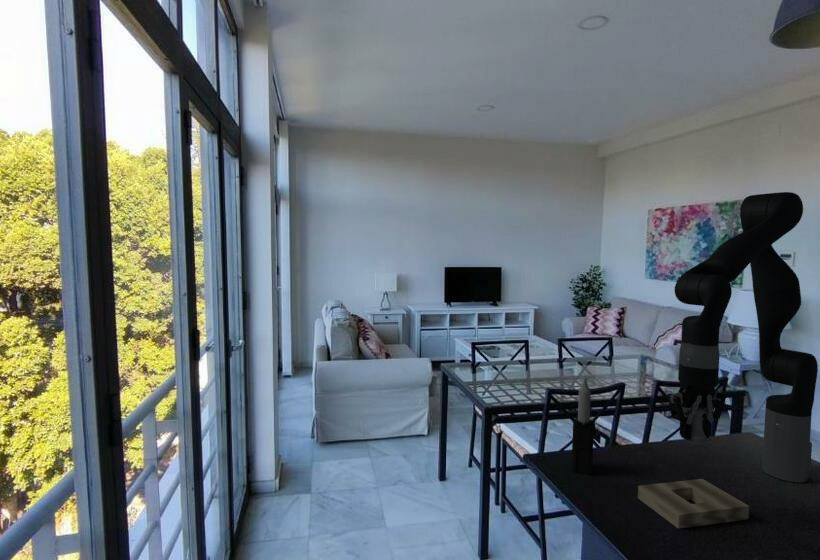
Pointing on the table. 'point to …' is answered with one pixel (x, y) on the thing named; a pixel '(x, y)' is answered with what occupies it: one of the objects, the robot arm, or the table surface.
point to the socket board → (682, 514)
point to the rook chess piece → (697, 429)
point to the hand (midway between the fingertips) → (694, 437)
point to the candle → (583, 434)
